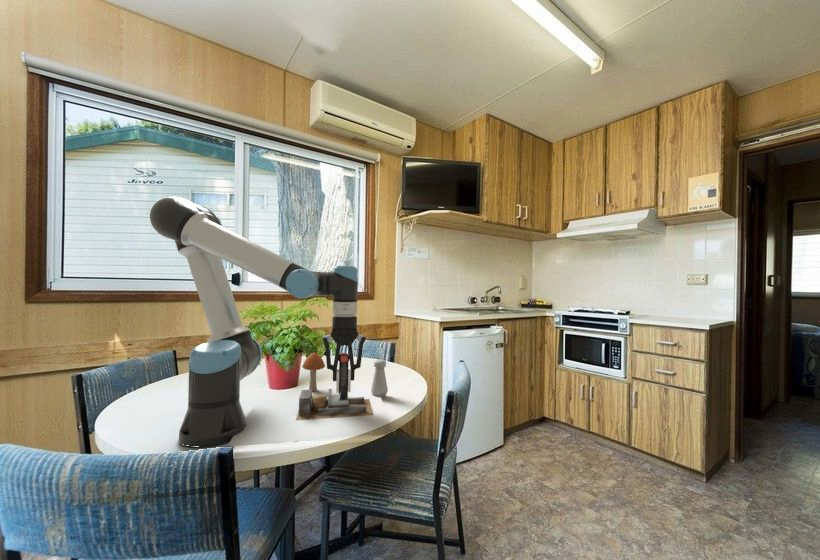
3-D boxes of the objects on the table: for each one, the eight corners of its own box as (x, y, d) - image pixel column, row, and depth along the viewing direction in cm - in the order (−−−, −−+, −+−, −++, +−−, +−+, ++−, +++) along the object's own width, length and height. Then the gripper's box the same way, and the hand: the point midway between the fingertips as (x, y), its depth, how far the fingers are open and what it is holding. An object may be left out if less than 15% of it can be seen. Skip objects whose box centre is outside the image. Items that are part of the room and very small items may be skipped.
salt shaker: (384, 400, 116) (385, 362, 116) (368, 399, 117) (369, 361, 117) (389, 395, 122) (390, 358, 122) (374, 393, 123) (374, 357, 123)
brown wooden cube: (311, 412, 101) (311, 399, 101) (312, 407, 105) (312, 394, 105) (326, 411, 102) (326, 398, 102) (326, 406, 106) (326, 393, 106)
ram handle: (327, 411, 101) (328, 355, 101) (328, 404, 107) (329, 351, 107) (348, 410, 102) (349, 354, 103) (348, 403, 108) (349, 351, 108)
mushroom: (316, 398, 116) (317, 355, 116) (296, 395, 119) (297, 353, 119) (328, 392, 124) (329, 350, 124) (310, 389, 126) (311, 349, 126)
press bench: (295, 424, 95) (296, 402, 95) (300, 406, 109) (301, 387, 109) (373, 419, 100) (374, 398, 100) (369, 402, 114) (369, 384, 114)
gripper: (317, 316, 100) (316, 396, 100) (371, 316, 103) (370, 393, 103) (319, 314, 107) (317, 388, 107) (369, 314, 111) (367, 386, 110)
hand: (343, 390), depth 105 cm, fingers closed on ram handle, 3 cm apart
